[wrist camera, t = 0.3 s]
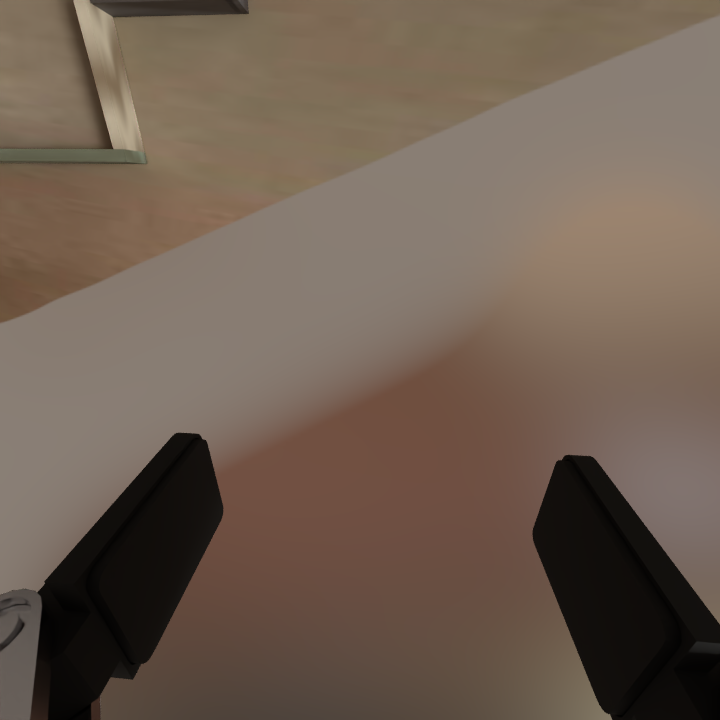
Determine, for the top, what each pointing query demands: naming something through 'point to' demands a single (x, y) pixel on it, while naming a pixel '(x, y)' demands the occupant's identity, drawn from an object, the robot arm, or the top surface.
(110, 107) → the box
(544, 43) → the top surface
